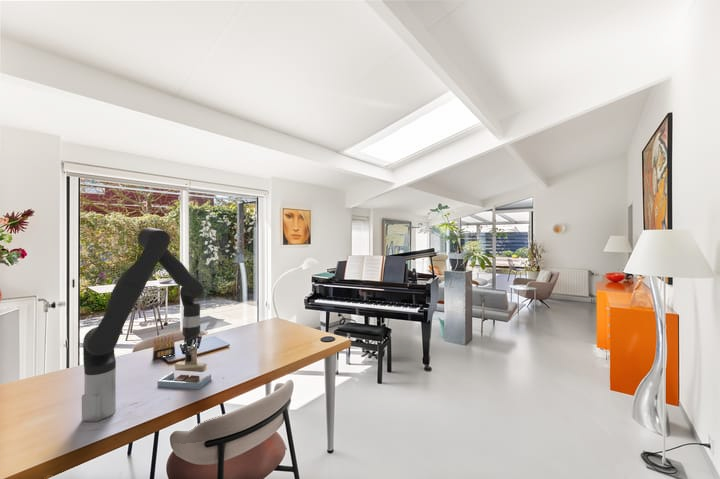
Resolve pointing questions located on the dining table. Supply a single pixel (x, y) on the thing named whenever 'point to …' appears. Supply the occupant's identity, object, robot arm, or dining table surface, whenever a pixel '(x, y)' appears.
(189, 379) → the block
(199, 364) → the wooden base with post
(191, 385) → the tray
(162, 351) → the ammunition clip
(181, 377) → the block
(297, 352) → the dining table surface
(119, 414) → the dining table surface
